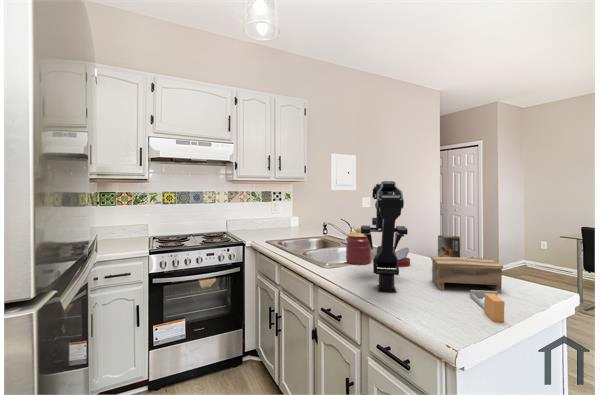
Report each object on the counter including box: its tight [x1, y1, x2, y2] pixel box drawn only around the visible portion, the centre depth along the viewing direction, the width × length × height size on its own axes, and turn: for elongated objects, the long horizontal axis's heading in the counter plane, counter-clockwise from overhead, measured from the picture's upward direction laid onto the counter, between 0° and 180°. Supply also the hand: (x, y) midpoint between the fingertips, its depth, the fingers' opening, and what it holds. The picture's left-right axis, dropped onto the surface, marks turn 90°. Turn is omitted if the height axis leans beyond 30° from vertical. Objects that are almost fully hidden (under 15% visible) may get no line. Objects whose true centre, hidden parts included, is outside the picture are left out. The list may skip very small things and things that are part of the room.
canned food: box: [395, 247, 411, 268], centre depth 149 cm, size 11×10×10 cm
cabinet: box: [430, 256, 504, 294], centre depth 116 cm, size 12×22×10 cm, turn 80°
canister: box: [345, 227, 372, 266], centre depth 154 cm, size 13×13×18 cm
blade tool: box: [469, 289, 505, 323], centre depth 95 cm, size 19×9×6 cm, turn 171°
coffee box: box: [437, 234, 461, 258], centre depth 135 cm, size 9×6×16 cm
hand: (383, 250), depth 127 cm, fingers open, 9 cm apart
